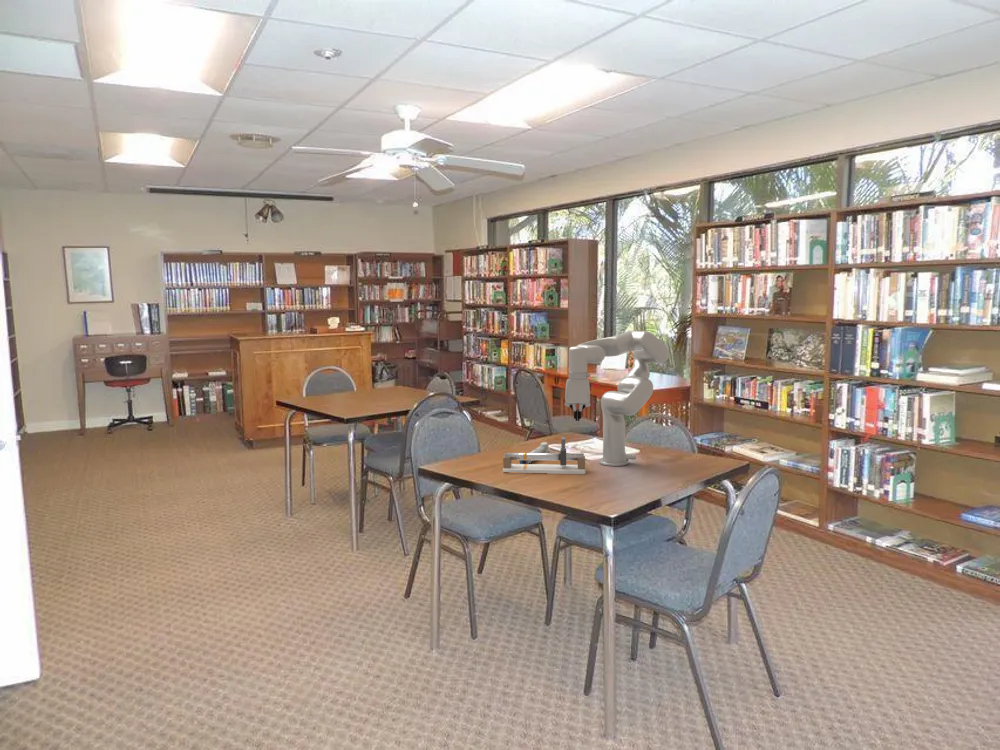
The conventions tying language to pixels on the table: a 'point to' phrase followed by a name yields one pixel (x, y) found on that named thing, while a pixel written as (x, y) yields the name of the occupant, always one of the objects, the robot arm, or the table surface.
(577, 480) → the table surface
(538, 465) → the pipe base
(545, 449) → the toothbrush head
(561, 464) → the collar
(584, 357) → the robot arm
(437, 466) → the table surface
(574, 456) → the pipe
